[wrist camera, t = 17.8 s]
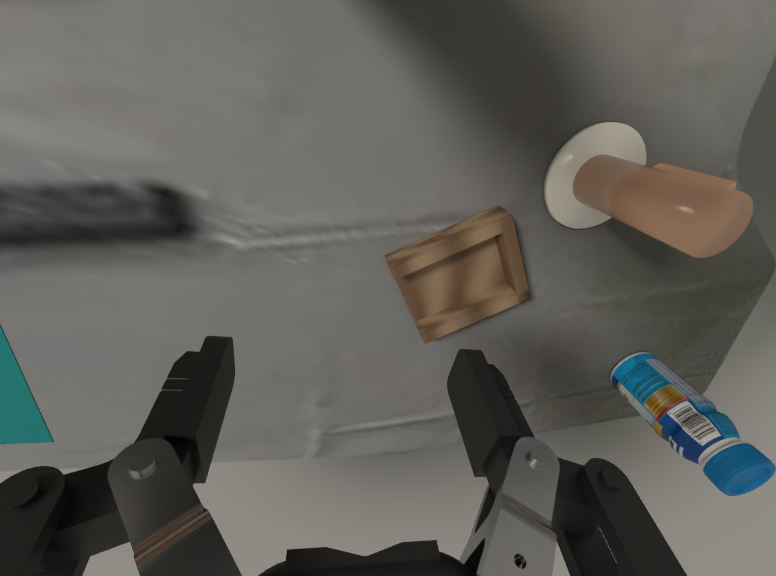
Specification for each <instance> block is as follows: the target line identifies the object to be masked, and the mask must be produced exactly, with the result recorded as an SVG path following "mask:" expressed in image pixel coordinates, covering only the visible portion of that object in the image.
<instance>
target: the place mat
mask: <svg viewBox="0 0 776 576" xmlns="http://www.w3.org/2000/svg"><path fill="white" fill-rule="evenodd" d="M43 442H53V439H52V437H51V435H50V433H49V431H48V428H47V426H46V424H45V422H44V420H43V417H42V415H41V413H40V411H39V409H38V407H37V404H36V402H35V400H34V398H33V396H32V393H31V391H30V389H29V387H28V385H27V383H26V380H25V378H24V376H23V374H22V372H21V369H20V367H19V365H18V363H17V361H16V358H15V356H14V354H13V352H12V350H11V348H10V345H9V343H8V341H7V339H6V337H5V334H4V332H3V330H2V328H1V326H0V444H16V443H43Z"/></svg>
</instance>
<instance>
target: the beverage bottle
mask: <svg viewBox="0 0 776 576" xmlns="http://www.w3.org/2000/svg"><path fill="white" fill-rule="evenodd" d="M610 381H611V384H612V385H613V386H614V387H615V388H616V389H617V390H618V391H619V392H620V393H621V394H622V395H623V396H624V398H625V399H626V400H627V401H628V402H629V403H630V404H631V405H632V406H633V407H634V408H635V409H636V410H637V411H638V412H639V414H640V415H641V416H642V417H643V418H644V419H645V420H646V421H647V422H648V423H649V424H650V425H651V426H652V427H653V429H654V431H655V432H656V433H657V434H658V435H659V436H660V437H661V438H662V439H664V440H666V441H668V442H670V444H671V447H672V449H673V450H674V451H675V452H676V453H678V454H679V455H681V456H683V457H684V458H686V459H688V460H690V461H692V462H695V463H697V464H700V465H702V471H703V472H704V474H705V475H706V476H707V477H708V478H709V480H711V482H713V484H714V485H715V486H716V487H717V488H718V489H719V490H720V491H722V492H723V493H724V494H726V495H728V496H736V495H741V494H744V493H747V492H750V491H752V490H754V489H756V488H758V487H759V486H761V485H763V484H764V483H765V482H767V481H768V480H769V479H770V478H771V477H772V476H773V474H774V473H775V470H776V467H775V465H774V464H773V463H772V462H771V461H770V460H769V459H768V458H767V457H766V456H765V455H763V454H762V453H761V452H760V451H759V450H757V449H756V448H755V447H754V446H753V445H751V444H749V443H747V442H741V440H740V437H739V434H738V431H737V429H736V427H735V426H734V424H733V422H732V421H731V420H730V419H729V418H728V416H726V415H725V414H723V413H720V412H718V411H717V409H716V407H715V406H714V404H713V403H712V402H711V401H710V400H709V399H707V398H706V397H704V396H702V395H701V394H700V393H698V392H697V391H696V390H695V389H693V388H692V387H691V386H690V385H689V384H687V383H686V382H685V381H684V380H682V379H681V378H680V377H679V376H678V375H676V374H675V373H674V372H673V371H672V370H670V369H669V368H668V367H667V366H665V365H664V364H663V363H662V362H661V361H660V360H659V359H658V358H657V357H655V356H654V355H653V354H651V353H648V352H638V353H634V354H631V355H629V356H627V357H625V358H624V359H622V360H621V361H620V362H619V363H618V364H617V365H616V366H615V367H614V369H613V370H612V372H611V375H610Z"/></svg>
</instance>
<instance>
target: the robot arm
mask: <svg viewBox="0 0 776 576" xmlns="http://www.w3.org/2000/svg"><path fill="white" fill-rule="evenodd" d="M234 378H235V362H234V349H233V339H232V337H220V336H207V337H206V338H205V340H204V343H203V345H202V347H201V350H200V352H193V351H187V352H186V353H185V354H184V355H183V356H182V357H180V358H179V359H178V360H177V361H176V362H175V363H174V365H173V367H172V369H171V371H170V373H169V375H168V377H167V380H166V381H165V383H164V385H163V387H162V391H161V392H160V393H159V395H158V397H157V399H156V401H155V404H154V406H153V408H152V410H151V412H150V414H149V416H148V418H147V420H146V422H145V424H144V426H143V428H142V430H141V432H140V434H139V436H138V438H137V439H136V441H135V442H134V443H133V444H131V445H129V446H128V447H126V448H125V449H123V450H122V451H121V452H120V453H119V454H118V455H117V456H116V457H115V458H114V459H112V460H110V461H108V462H106V463H103V464H100V465H97V466H94V467H90V468H86V469H83V470H79V471H76V472H72V473H69V474H66V475H63V474H62V472H61V471H60V470H58V469H57V468H54V467H49V466H40V467H34V468H30V469H27V470H24V471H21V472H19V473H17V474H15V475H13V476H11V477H9V478H8V479H6V480H5V481H3V482H2V483H0V576H82V575H83V572H84V570H85V568H86V565H87V563H88V560H89V558H90V556H92V555H95V554H97V553H100V552H103V551H106V550H108V549H111V548H114V547H116V546H119V545H122V544H124V543H127V542H130V543H131V546H132V549H133V552H134V559H135V562H136V565H137V569H138V571H139V574H140V576H242V575H241V573H240V571H239V569H238V567H237V565H236V563H235V561H234V559H233V557H232V555H231V553H230V551H229V549H228V547H227V545H226V544H225V542H224V540H223V538H222V536H221V534H220V532H219V530H218V528H217V526H216V525H215V522H214V520H213V518H212V516H211V515H210V513H209V511H208V510H207V509H205V508H204V507H203V505H202V504H201V502H200V500H199V498H198V496H197V494H196V492H195V490H194V488H193V484H194V483H205V481H206V478H207V475H208V471H209V467H210V464H211V461H212V457H213V454H214V450H215V447H216V444H217V440H218V437H219V433H220V430H221V426H222V423H223V419H224V416H225V412H226V409H227V405H228V402H229V399H230V395H231V392H232V388H233V384H234ZM447 389H448V394H449V397H450V400H451V403H452V407H453V410H454V413H455V416H456V419H457V422H458V426H459V429H460V432H461V435H462V438H463V441H464V445H465V448H466V451H467V454H468V457H469V460H470V464H471V467H472V470H473V473H474V476H475V477H487V480H488V483H489V485H488V487H487V489H486V491H485V494H484V497H483V500H482V503H481V506H480V509H479V512H478V515H477V518H476V521H475V524H474V527H473V529H472V532H471V535H470V538H469V540H468V543H467V545H466V547H465V549H464V551H463V553H462V555H461V557H460V560H457V559H455V558H453V557H452V556H450V555H447V554H444V553H442V552H439V550H438V545H437V541H436V540H432V541H414V542H402V543H399V544H397V545H394V546H392V547H389V548H387V549H384V550H382V551H379V552H377V553H374V554H371V555H369V556H360V555H356V554H352V553H348V552H344V551H340V550H336V549H332V548H328V547H321V548H306V549H290V550H287V556H286V561H284V562H281V563H278V564H276V565H274V566H272V567H271V568H269V569H267V570H265V571H264V572H263V573H261V574H260V575H258V576H552V570H553V564H554V556H555V549H556V542H557V543H558V545H559V547H560V550H561V553H562V555H563V558H564V560H565V563H566V566H567V568H568V571H569V573H570V576H687V575H686V573H685V572H684V570H683V568H682V567H681V565H680V564H679V562H678V560H677V558H676V557H675V555H674V553H673V552H672V550H671V548H670V547H669V545H668V544H667V542H666V540H665V539H664V537H663V535H662V534H661V532H660V530H659V529H658V527H657V526H656V524H655V522H654V520H653V519H652V517H651V516H650V514H649V512H648V511H647V509H646V507H645V506H644V504H643V502H642V501H641V499H640V497H639V496H638V494H637V492H636V491H635V489H634V488H633V486H632V484H631V482H630V481H629V479H628V478H627V476H626V475H625V474H624V473H623V472H622V471H621V470H620V469H619V468H618V467H617V466H615V465H614V464H612V463H610V462H609V461H606V460H604V459H600V458H593V459H590V460H589V461H588V462H587V463H586V464H585V465H584V466H583V465H580V464H577V463H573V462H570V461H567V460H564V459H561V458H558V457H557V456H556V455H555V454H554V452H553V451H552V449H551V448H550V447H548V446H547V445H546V444H545V443H544V442H542V441H540V440H538V439H536V438H535V437H534V435H533V434H532V432H531V429H530V427H529V425H528V423H527V421H526V419H525V417H524V415H523V413H522V411H521V409H520V407H519V405H518V403H517V401H516V400H515V399H514V395H513V393H512V391H511V390H510V387H509V385H508V383H507V381H506V379H505V377H504V375H503V374H502V373H501V372H500V371H499V370H498V369H497V368H496V367H495V366H494V365H493V364H488V363H487V361H486V359H485V356H484V354H483V352H482V351H481V350H469V349H460V350H459V351H458V353H457V356H456V358H455V361H454V363H453V366H452V368H451V371H450V373H449V376H448V381H447ZM551 527H552V528H551ZM600 529H601V531H602V532H601V531H600ZM602 533H603V535H604V537H605V539H606V541H607V543H608V545H609V547H610V549H611V551H610V549H609V547H608V545H607V543H606V541H605V539H604V537H603V535H602ZM611 552H612V553H611ZM612 554H613V556H614V557H613V556H612ZM614 558H615V559H614ZM615 560H616V561H615ZM616 562H617V563H616Z"/></svg>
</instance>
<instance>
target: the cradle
mask: <svg viewBox="0 0 776 576" xmlns="http://www.w3.org/2000/svg"><path fill="white" fill-rule="evenodd" d="M385 258H386V261H387V264H388V266H389V269H390V271H391V274H392V276H393V278H394V280H396V282H397V284H398V286H399V288H400V290H401V292H402V295H403V297H404V299H405V301H406V303H407V305H408V308H409V310H410V312H411V314H412V316H413V318H414V320H415V323H416V325H417V328H418V330H419V333H420V335H421V338H422V340H423V342H424V344H426V343H428V342H430V341H433V340H435V339H437V338H440V337H442V336H444V335H447V334H449V333H451V332H454V331H456V330H458V329H461V328H463V327H465V326H468V325H470V324H472V323H475V322H477V321H479V320H482V319H484V318H486V317H489V316H491V315H493V314H496V313H498V312H500V311H503V310H505V309H508V308H510V307H512V306H515V305H517V304H519V303H522V302H524V301H526V300H529V299H531V298H530V293H529V289H528V284H527V280H526V275H525V271H524V266H523V261H522V257H521V252H520V248H519V243H518V239H517V234H516V230H515V225H514V221H513V216H512V215H511V214H510V213H508V212H507V211H506V210H504V209H503V208H502V207H500V206H499V205H497V206H495V207H493V208H491V209H488V210H486V211H484V212H482V213H479V214H477V215H475V216H473V217H470V218H468V219H466V220H464V221H462V222H459V223H457V224H455V225H453V226H450V227H448V228H446V229H444V230H441V231H439V232H437V233H435V234H432V235H430V236H428V237H426V238H424V239H421V240H419V241H417V242H415V243H412V244H410V245H408V246H406V247H403V248H401V249H399V250H397V251H394V252H392V253H390V254H388V255H385Z"/></svg>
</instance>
